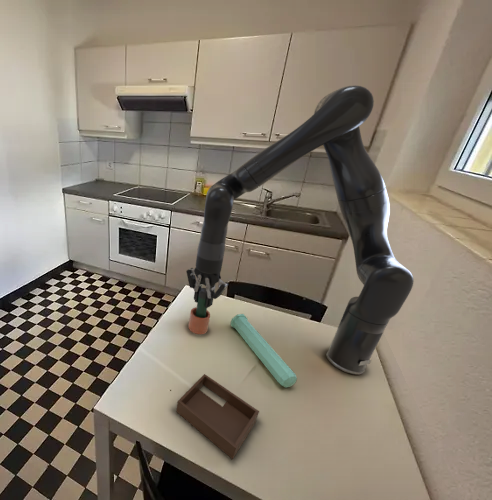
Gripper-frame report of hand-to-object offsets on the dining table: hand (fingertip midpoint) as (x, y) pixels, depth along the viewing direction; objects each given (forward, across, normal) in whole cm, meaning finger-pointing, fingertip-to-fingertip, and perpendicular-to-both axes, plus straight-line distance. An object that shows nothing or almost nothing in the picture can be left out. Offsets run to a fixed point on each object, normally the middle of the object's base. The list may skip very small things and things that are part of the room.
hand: (202, 303), depth 88 cm
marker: (+6, 0, 0) cm, 6 cm away
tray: (+10, -20, +23) cm, 32 cm away
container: (+10, -19, -4) cm, 22 cm away
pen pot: (+10, 0, 0) cm, 10 cm away
